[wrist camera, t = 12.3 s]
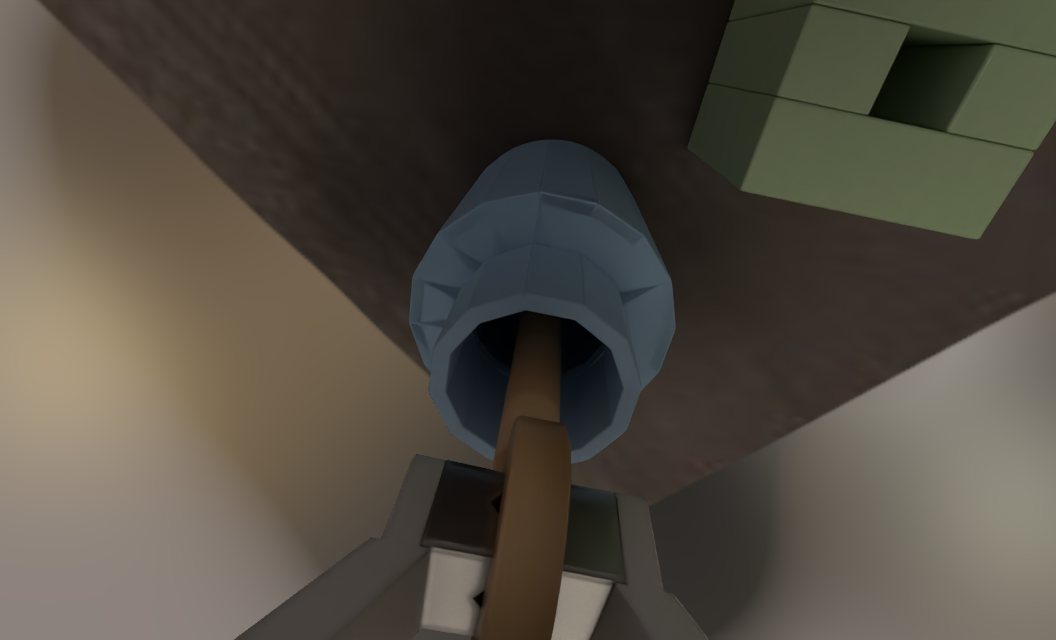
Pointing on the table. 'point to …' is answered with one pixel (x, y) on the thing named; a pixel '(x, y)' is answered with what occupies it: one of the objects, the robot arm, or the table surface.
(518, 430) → the spoon
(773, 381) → the table surface
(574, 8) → the table surface
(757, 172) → the stand
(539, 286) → the bottle
